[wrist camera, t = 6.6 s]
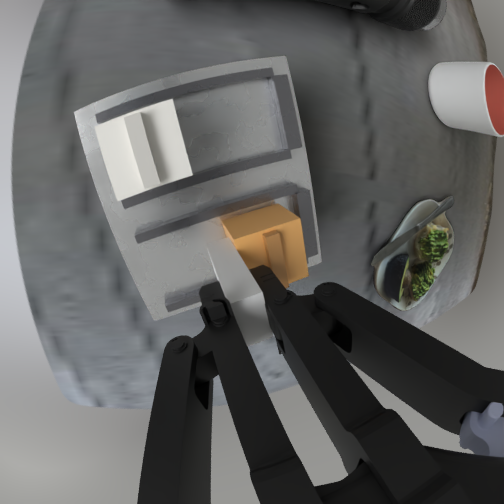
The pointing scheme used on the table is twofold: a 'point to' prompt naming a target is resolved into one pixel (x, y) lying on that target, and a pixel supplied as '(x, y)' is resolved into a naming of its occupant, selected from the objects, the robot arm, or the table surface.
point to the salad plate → (414, 254)
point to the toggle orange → (270, 241)
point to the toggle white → (143, 149)
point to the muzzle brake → (399, 11)
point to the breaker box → (206, 173)
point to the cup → (468, 96)
